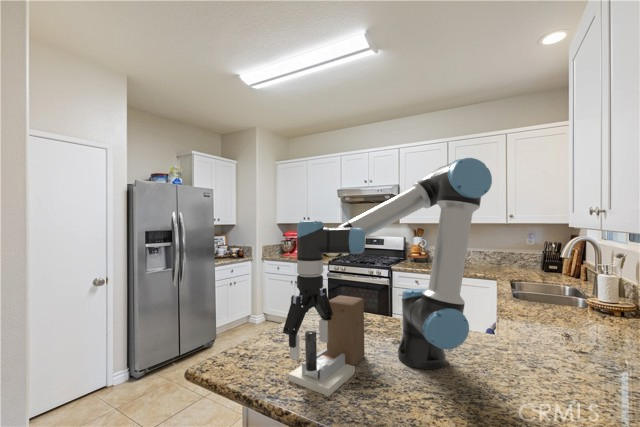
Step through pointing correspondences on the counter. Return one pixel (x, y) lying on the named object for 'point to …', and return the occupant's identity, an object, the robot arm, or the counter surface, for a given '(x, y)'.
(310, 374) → the ram handle
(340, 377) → the base
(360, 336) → the wooden block
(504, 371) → the counter surface
